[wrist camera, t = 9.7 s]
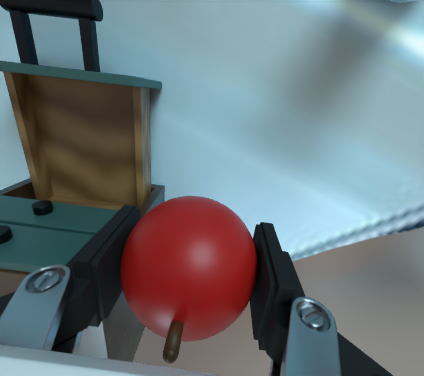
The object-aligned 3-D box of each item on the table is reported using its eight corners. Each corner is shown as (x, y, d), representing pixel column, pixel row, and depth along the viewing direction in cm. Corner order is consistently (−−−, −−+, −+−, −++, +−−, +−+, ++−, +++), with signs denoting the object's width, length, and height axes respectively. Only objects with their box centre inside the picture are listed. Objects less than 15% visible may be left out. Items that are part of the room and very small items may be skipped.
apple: (130, 226, 12) (32, 356, 6) (191, 154, 10) (138, 240, 4) (205, 278, 14) (186, 431, 7) (272, 223, 12) (323, 368, 6)
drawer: (10, 5, 21) (-100, -41, 14) (162, 22, 21) (129, -16, 14) (52, 193, 29) (-4, 224, 22) (160, 206, 29) (139, 242, 22)
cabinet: (43, 159, 28) (-162, 232, 13) (164, 174, 27) (93, 265, 13) (66, 262, 35) (-50, 384, 20) (163, 275, 35) (116, 408, 20)
